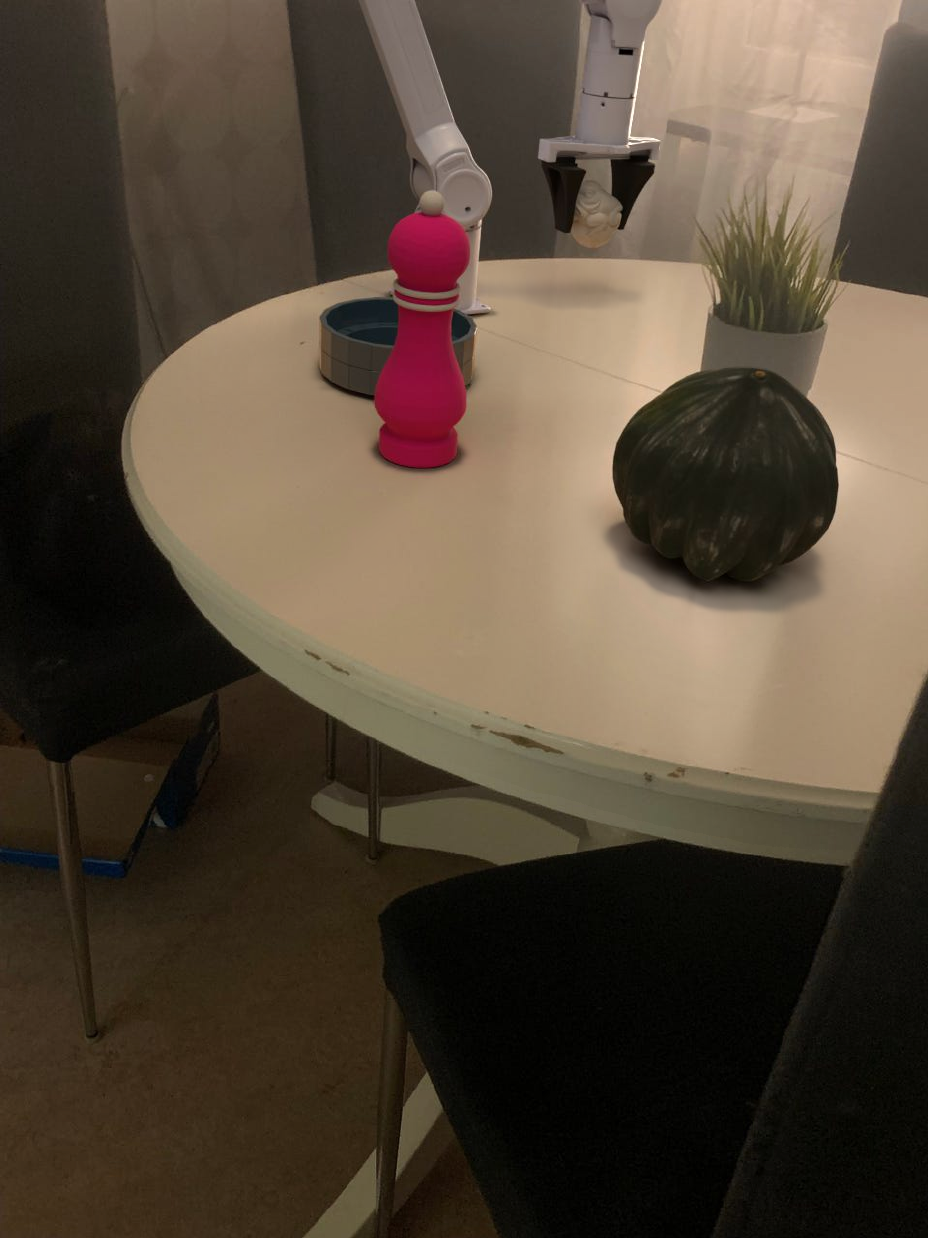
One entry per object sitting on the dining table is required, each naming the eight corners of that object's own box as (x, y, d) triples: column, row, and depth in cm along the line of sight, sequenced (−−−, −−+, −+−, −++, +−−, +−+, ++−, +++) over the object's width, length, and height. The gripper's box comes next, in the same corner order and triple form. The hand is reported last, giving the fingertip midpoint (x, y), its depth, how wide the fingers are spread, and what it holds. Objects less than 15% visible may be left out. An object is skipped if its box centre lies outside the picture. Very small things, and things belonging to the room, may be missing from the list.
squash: (699, 411, 84) (664, 292, 71) (882, 482, 77) (881, 364, 64) (603, 561, 82) (549, 468, 69) (781, 648, 75) (759, 562, 62)
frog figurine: (548, 239, 122) (556, 174, 118) (605, 239, 124) (614, 175, 120) (568, 254, 117) (577, 186, 113) (627, 254, 119) (637, 187, 115)
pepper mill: (452, 477, 83) (472, 207, 72) (361, 463, 84) (368, 194, 73) (470, 440, 89) (492, 186, 78) (385, 427, 90) (395, 174, 79)
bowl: (296, 356, 103) (295, 304, 100) (428, 341, 109) (431, 291, 106) (358, 412, 93) (360, 355, 90) (500, 392, 99) (505, 339, 96)
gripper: (572, 100, 106) (554, 242, 113) (686, 100, 112) (663, 235, 120) (533, 88, 111) (519, 225, 118) (645, 89, 117) (625, 219, 125)
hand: (589, 229), depth 119 cm, fingers closed on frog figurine, 7 cm apart
